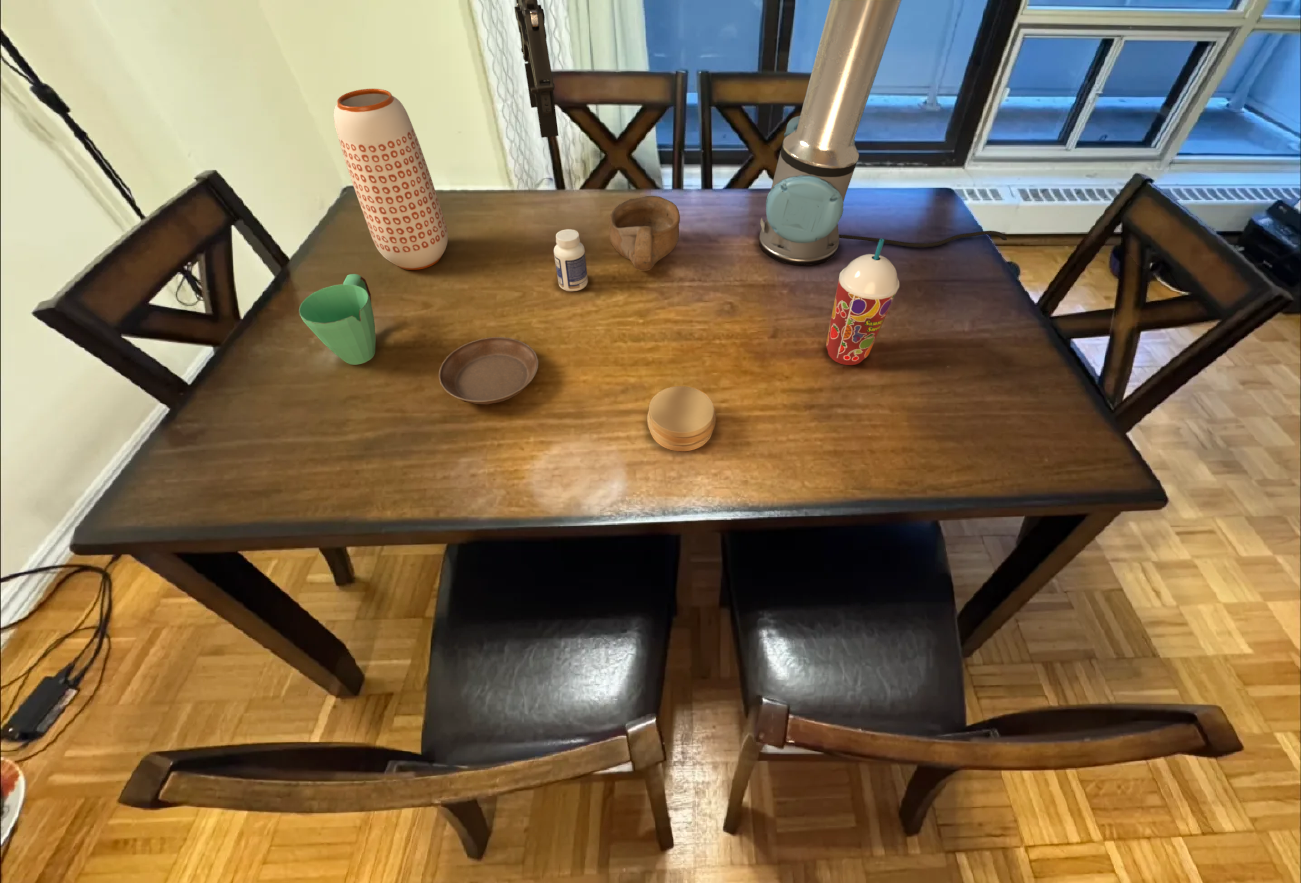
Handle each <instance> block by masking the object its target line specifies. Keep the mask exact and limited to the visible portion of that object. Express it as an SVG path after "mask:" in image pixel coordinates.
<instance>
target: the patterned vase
mask: <svg viewBox="0 0 1301 883" xmlns="http://www.w3.org/2000/svg"><path fill="white" fill-rule="evenodd" d="M336 103H337V104H336V105H335V107H334V109H333V123H334V127H335V130H336V131H335V132H336V135H337V138H338V142H339V145H340V148H341V152H342V156H343V159H344V161H345V165H346V167H347V170H348V174H349V177H350V181H351V183H352V187H353V189H354V192H355V195H356V198H357V200H358V203H359V206H360V208H361V211H362V214H363V217H364V220H365V222H366V225H367V229H368V230H369V233H370V237H371V239H372V241H373V243H374V246H375V247H376V249H377V251H378V252H379V253H380V255H381V256H382V257H383V258H384V259H385V260H387V261H388V262H390V263H392V265H395V266H397V267H398V268H400V269H402V270H407V271H420V270H424V269H427V268H430V267H432V266H434V265H436V264H437V263H438V262H439V261H440V260H441V258H443V254H444V253H445V251H446V248H447V247H448V242H449V231H448V226H447V223H446V220H445V216H444V214H443V210H442V208H441V203H440V201H439V197H438V195H437V192H436V188H435V185H434V182H433V179H432V176H431V173H430V170H429V167H428V165H427V162H426V161H427V160H426V159H425V156H424V153H423V150H422V147H421V144H420V142H419V139H418V136H417V134H416V132H415V129H414V126H413V124H412V121H411V118H410V116H409V114H408V112H407V110H406V108H405V106H404V104H403V103H402V102H401V101H400V100H399V99H398V98H397V97H395V96H394V95H392V92H390V91H388V90H386V89H382V88H362V89H355V90H352V91H349V92H345V93H344V94H342V95H340V96H339V97H338V99H337V100H336Z"/></svg>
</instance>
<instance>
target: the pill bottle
mask: <svg viewBox="0 0 1301 883" xmlns="http://www.w3.org/2000/svg"><path fill="white" fill-rule="evenodd" d="M580 239H581V238H580V233H579V232H578V230H576V229H573V228H572V229H571V228H565V229H562V230H559V231H558V232H557V233H556V234H555V243H556V244H555V246H554V248H553V256H554V262H555V263H554V264H555V270H556V276H557V277H556V278H557V283H558V286H559V287H560V288H561V289H562V290H564V291H566V292H578V291H581V290H583V289H585V287H587V285H588V284H589V278H588V270H587V259H586V249H585V246H584V244H583V243H582V242H581V240H580Z"/></svg>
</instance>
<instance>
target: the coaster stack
mask: <svg viewBox="0 0 1301 883" xmlns="http://www.w3.org/2000/svg"><path fill="white" fill-rule="evenodd" d="M646 418H647V427H648V430H649V432H650V435H651V437H652V439H653V440H654V441H655V442H656V443H657V444H658V445H659V446H661V447H663V448H665V449H667V450H671V451H673V452H690V451H694V450H697V449H699V448H701V447H703V446H704V445H705V444H706V443H707V442H708V441H709V440H710V439H711V437H712V435H713V430H714V429H715V426H716V421H717V413H716V408H715V406H714V403H713V401H712V398H710V396H708V395H707V394H706V393H705V392H703V391H702V390H700V389H697V388H695V387H693V386H692V387H691V386H686V385H676V386H670V387H666V388H664V389H662V390H660V391H659V392H656V394H655V395H654V396H653V397H652V398H651V400H650V401H649V405H648V411H647V417H646Z"/></svg>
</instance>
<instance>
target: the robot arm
mask: <svg viewBox="0 0 1301 883" xmlns="http://www.w3.org/2000/svg"><path fill="white" fill-rule="evenodd" d="M515 3H516V6H514V7H513V8H514V14H515V19H516V21H517V22H516V23H517V28H518V32H519V36H520V44H521V49H520V50H521V53H522V59H523V60H524V70H525V76H526V83H527V90H528V97H529V103H530V108H532V109H533V108H536V109H537V118H538V123H539V132H540V137H541V138H542V139H543V138H551V137H552V138H553V137H559V129H558V120H557V119H558V118H557V112H556V102H555V94H554V91H555V83H554V79H553V74H552V66H551V60H550V55H549V48H548V42H547V30H546V26H545V23H546V21H545V20H546V15H545V11H544V8H542V4H539V2H538V0H515ZM901 4H902V0H830V2H829V6H828V10H827V13H826V17H825V19H824V20H825V21H824V24H823V28H822V32H821V35H820V39H819V44H818V47H817V51H816V55H815V59H814V62H813V65H812V69H811V74H810V78H809V82H808V85H807V88H806V92H805V95H804V96H805V97H804V100H803V104H802V108H801V111H800V115H798V116H794V117H792V118H791V119H789V121H788V122H787V125H786V129H785V132H784V134H783V137H784V138H783V141H782V144H781V149H780V152H779V156H778V159H777V163H776V168H775V172H774V176H773V180H772V185H771V187H770V190H769V192H768V194H767V197H766V200H765V214H766V219H765V221H764V219H763V217H762V216H761V217H760V223H759V224H760V226H761V228H760V231H759V238H758V245H759V248H760V249H761V251H762V252H763V253H764V254H765V255H766V256H768V257H770V258H772V259H773V260H776V261H778V262H780V263H783V264H788V265H793V266H814V265H819V264H824V263H825V262H828V261H830V260H831V259H832V258H833V257H835V256H836V254H837V252H838V248H839V244H840V239H844V240H845V239H846V240H855V241H864V242H871V243H879V240H880V239H881V238H879V237H870V236H860V235H850V234H840V232H839V231H840V230H839V222H840V220H841V219H842V216H843V214H844V206H845V205H844V202H845V198H846V195H847V192H848V190H849V186H850V183H851V181H852V178H853V175H854V172H855V169H856V166H857V164H858V161H859V157H860V153H859V151H858V149H857V147H856V145H855V143H856V140H855V139H856V135H857V132H858V129H859V128H860V124H861V121H862V117H863V114H864V111H865V108H866V105H867V104H868V100H869V97H870V94H871V91H872V88H873V85H874V84H875V79H876V76H877V74H878V70H879V68H880V66H881V62H882V59H883V56H884V53H885V50H886V47H887V44H888V41H889V38H890V36H891V32H892V29H893V27H894V24H895V21H896V17H897V15H898V12H899V9H900V5H901ZM986 235H987V236H988V235H993V236H996V237H998V238H1000V239H1001V240H1002V241H1008V240H1007V237H1006V235H1005V234H1003V233H1002V232H1000V231H997V230H982V231H975V232H968V233H959V234H956V235H952V236H950V237H947V238H945V239H942V240H938V241H933V242H907V241H900V240H892V239H886V238H883V239H884V243H883V244H887V245H888V244H889V245H893V246H894V245H895V246H900V247H901V246H902V247H909V248H930V247H937V246H940V245H944V244H946V243H950V242H952V241H955V240H959V239H963V238H972V237H979V236H986Z"/></svg>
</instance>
